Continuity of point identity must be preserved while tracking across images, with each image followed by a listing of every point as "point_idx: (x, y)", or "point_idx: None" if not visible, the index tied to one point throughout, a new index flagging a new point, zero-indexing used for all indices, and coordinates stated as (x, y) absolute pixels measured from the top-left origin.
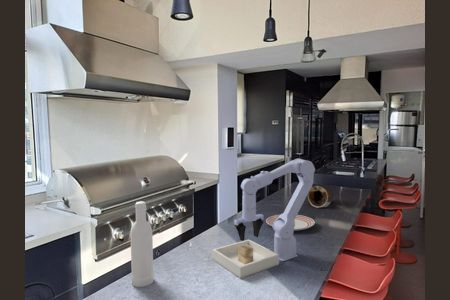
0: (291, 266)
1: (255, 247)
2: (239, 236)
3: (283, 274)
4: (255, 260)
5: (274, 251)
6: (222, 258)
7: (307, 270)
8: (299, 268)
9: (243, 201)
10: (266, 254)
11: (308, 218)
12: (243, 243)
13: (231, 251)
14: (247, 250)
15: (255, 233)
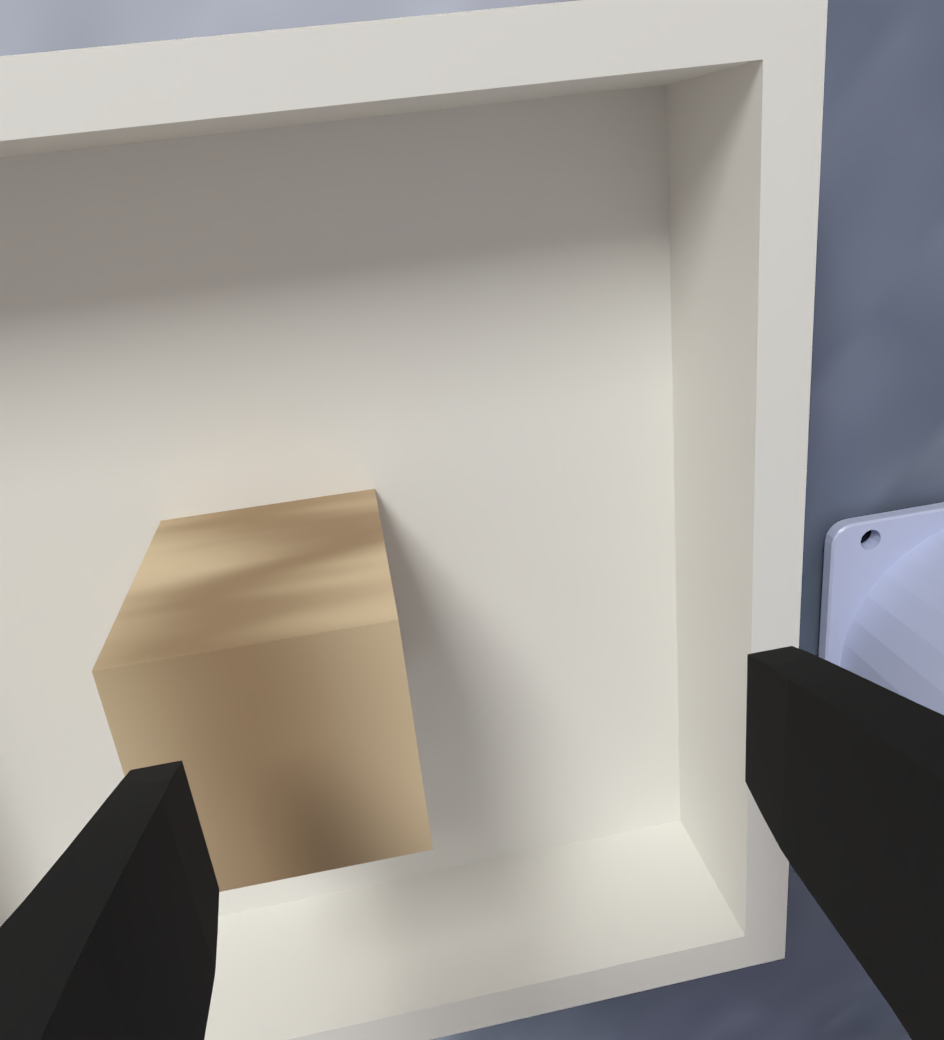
0: (807, 902)
1: (718, 369)
2: (72, 860)
3: (577, 1022)
4: (467, 638)
5: (905, 635)
6: None
7: (875, 1019)
8: (843, 964)
9: None
10: (706, 680)
11: None
12: (565, 84)
13: (143, 138)
14: (255, 869)
15: (800, 792)
